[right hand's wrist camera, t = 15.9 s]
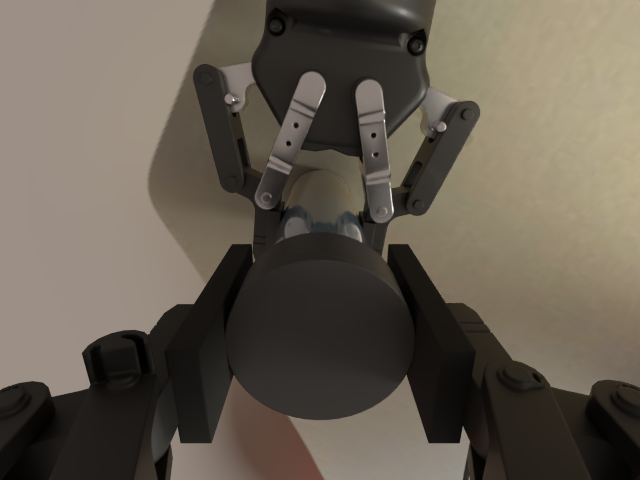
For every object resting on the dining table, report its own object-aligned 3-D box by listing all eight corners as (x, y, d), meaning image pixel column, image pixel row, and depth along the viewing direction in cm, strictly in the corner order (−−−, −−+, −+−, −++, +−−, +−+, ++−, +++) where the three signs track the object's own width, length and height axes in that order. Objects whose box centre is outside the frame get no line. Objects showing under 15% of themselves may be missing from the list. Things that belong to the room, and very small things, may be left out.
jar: (334, 237, 27) (353, 409, 12) (280, 214, 27) (225, 364, 11) (360, 184, 26) (421, 302, 10) (304, 159, 25) (279, 243, 10)
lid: (432, 283, 12) (455, 321, 10) (342, 392, 13) (347, 445, 11) (291, 199, 11) (285, 221, 9) (213, 327, 12) (191, 372, 10)
